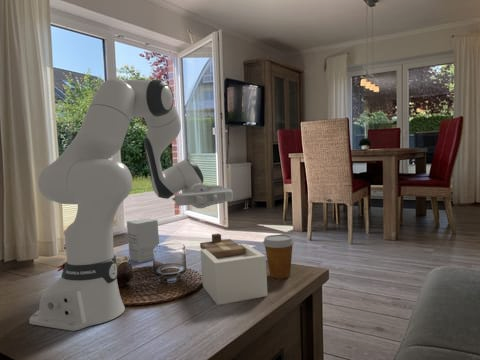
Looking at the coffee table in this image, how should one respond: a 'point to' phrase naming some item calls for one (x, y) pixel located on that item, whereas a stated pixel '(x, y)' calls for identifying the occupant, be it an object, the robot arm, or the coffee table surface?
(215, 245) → the lid
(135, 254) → the supplement box
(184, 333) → the coffee table surface
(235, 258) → the box
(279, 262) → the disposable coffee cup
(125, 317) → the coffee table surface
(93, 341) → the coffee table surface
